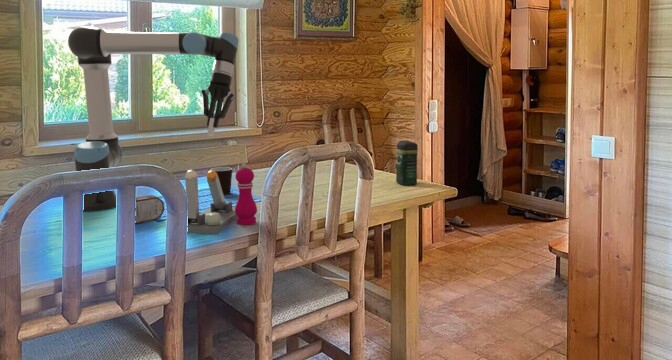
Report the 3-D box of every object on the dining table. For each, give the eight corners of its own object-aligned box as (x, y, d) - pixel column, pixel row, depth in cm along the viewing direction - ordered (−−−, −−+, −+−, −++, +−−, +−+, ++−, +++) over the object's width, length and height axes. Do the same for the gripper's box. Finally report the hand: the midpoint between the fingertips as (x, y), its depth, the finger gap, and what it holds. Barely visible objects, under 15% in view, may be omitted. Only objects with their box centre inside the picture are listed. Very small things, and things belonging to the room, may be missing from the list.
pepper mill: (238, 219, 204) (236, 161, 200) (259, 220, 204) (257, 161, 200) (232, 225, 197) (230, 165, 193) (254, 226, 197) (252, 165, 193)
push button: (203, 225, 190) (203, 215, 189) (209, 221, 194) (208, 212, 193) (217, 225, 189) (216, 216, 188) (222, 222, 193) (221, 212, 193)
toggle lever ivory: (186, 224, 191) (183, 170, 188) (190, 221, 195) (187, 168, 191) (196, 224, 191) (193, 171, 187) (201, 221, 194) (198, 169, 191)
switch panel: (180, 232, 190) (179, 216, 189) (211, 211, 215) (211, 197, 214) (216, 234, 188) (216, 218, 187) (244, 213, 213) (243, 199, 212)
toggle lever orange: (215, 213, 207) (203, 175, 196) (218, 206, 210) (207, 168, 199) (225, 213, 207) (214, 175, 196) (228, 206, 209) (217, 168, 198)
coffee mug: (228, 196, 239) (227, 171, 237) (208, 195, 241) (206, 170, 239) (239, 190, 250) (238, 166, 248) (219, 189, 252) (218, 165, 250)
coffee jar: (419, 185, 257) (420, 141, 254) (402, 186, 255) (403, 142, 252) (410, 180, 267) (411, 139, 263) (393, 182, 264) (394, 139, 261)
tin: (161, 216, 209) (160, 193, 207) (166, 218, 207) (164, 194, 205) (119, 225, 199) (117, 200, 197) (123, 227, 197) (122, 201, 195)
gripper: (241, 79, 231) (230, 140, 229) (209, 75, 233) (197, 135, 231) (235, 73, 223) (223, 136, 221) (202, 69, 226) (190, 131, 224)
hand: (210, 135), depth 226 cm, fingers closed
